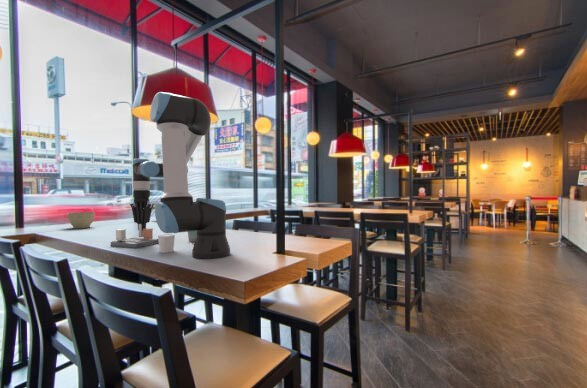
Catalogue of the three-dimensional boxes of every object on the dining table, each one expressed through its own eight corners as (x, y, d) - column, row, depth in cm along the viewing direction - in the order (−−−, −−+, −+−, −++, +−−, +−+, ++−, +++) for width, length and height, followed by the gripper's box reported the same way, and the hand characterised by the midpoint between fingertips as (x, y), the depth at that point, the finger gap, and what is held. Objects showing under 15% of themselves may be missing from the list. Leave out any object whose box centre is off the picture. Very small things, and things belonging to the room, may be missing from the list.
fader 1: (126, 239, 147) (125, 229, 147) (121, 240, 144) (120, 230, 144) (120, 239, 148) (120, 229, 148) (115, 240, 145) (115, 229, 145)
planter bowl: (77, 226, 221) (76, 211, 221) (99, 226, 222) (99, 211, 222) (61, 229, 205) (61, 213, 205) (86, 229, 206) (85, 213, 206)
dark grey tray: (159, 243, 151) (159, 238, 151) (136, 248, 138) (136, 243, 138) (134, 241, 157) (134, 237, 157) (110, 246, 143) (110, 241, 143)
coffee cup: (198, 242, 153) (198, 219, 152) (182, 242, 154) (182, 218, 154) (206, 240, 161) (206, 217, 161) (191, 239, 163) (191, 217, 162)
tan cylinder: (152, 238, 150) (152, 228, 150) (148, 239, 147) (148, 229, 147) (147, 238, 151) (147, 228, 151) (143, 238, 149) (143, 228, 148)
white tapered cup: (164, 253, 127) (164, 237, 127) (154, 251, 130) (154, 235, 130) (178, 250, 133) (178, 234, 132) (168, 249, 136) (168, 233, 136)
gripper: (157, 189, 152) (158, 236, 152) (137, 189, 156) (138, 235, 156) (145, 189, 145) (146, 238, 145) (125, 189, 149) (125, 237, 149)
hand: (142, 236), depth 151 cm, fingers closed
